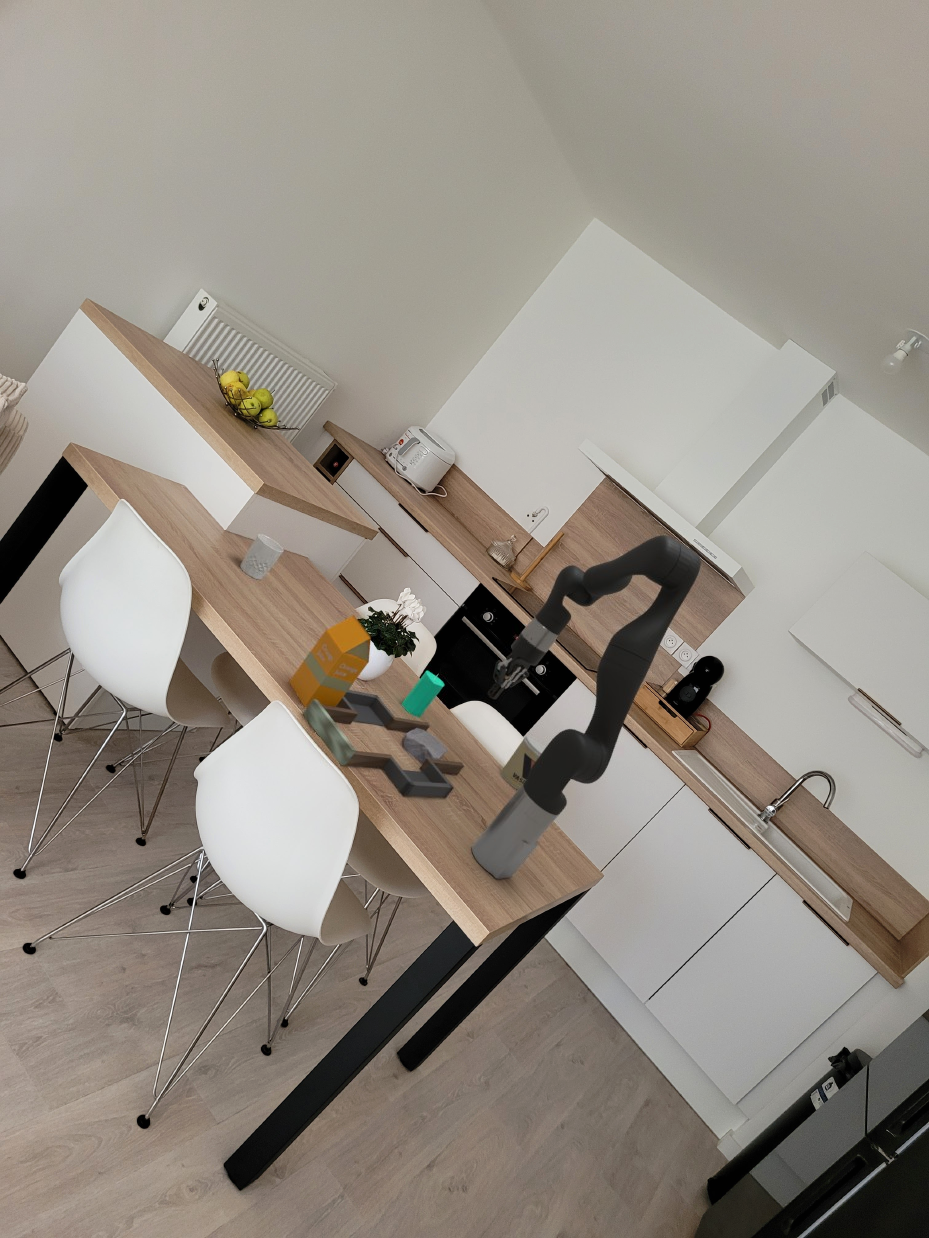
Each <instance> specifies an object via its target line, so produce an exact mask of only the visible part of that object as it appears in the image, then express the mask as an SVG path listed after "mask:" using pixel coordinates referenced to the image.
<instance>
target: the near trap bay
mask: <svg viewBox="0 0 929 1238" xmlns="http://www.w3.org/2000/svg"><path fill="white" fill-rule="evenodd" d="M381 770H382V771H383V773H385V774H386V775H385V776H387V778H389V780H390V781H391V782H392V784H393V786H394V787H395V788H396V789H397V790H398V792H399V793H400V794H401V795H402V797H416V798H417V797H418V798H440V799H441V798H442V799H443V798H444V799H446V798H448V796H449V795H450V793H451V792H452V791H453V790H454V788H455V787H454V786H453V784H452V783H451V781H449V780H448V778H447V777H446V776H445V774H442V773H441V771H440V770H439V769H438V768H437V767H436V765H435V764H434V763H433V762H430V763H429V764H428V765H427V767H426V768H425V769H424V770H423V772H422V771H421V770H410V769H403V768H402V767H401V766H400V764H399V762H397V761H396V759H395V758H394V757H393V758H390V759H389V760H388V762H387V763H386V764H385V766H384V767H383V768H382V769H381Z"/></svg>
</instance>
